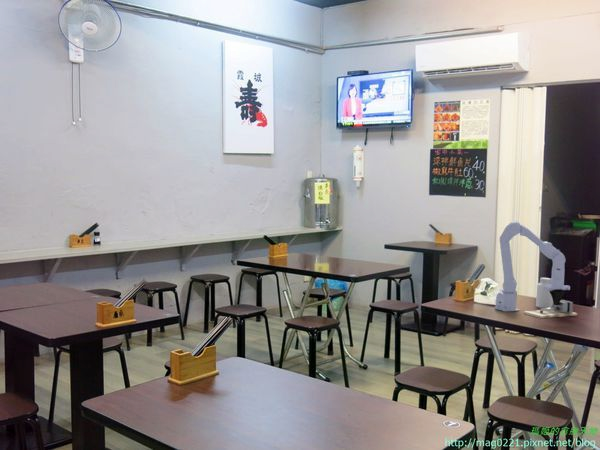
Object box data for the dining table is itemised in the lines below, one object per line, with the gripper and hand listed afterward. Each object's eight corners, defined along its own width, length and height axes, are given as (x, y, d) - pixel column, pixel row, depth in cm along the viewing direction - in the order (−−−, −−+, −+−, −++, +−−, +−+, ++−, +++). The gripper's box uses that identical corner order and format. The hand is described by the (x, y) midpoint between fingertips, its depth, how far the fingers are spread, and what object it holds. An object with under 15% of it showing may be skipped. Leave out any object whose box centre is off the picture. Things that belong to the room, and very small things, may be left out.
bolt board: (540, 318, 291) (540, 305, 290) (523, 313, 301) (524, 301, 300) (577, 315, 299) (577, 303, 299) (559, 310, 310) (560, 298, 309)
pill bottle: (555, 309, 314) (556, 279, 313) (539, 308, 314) (540, 279, 313) (549, 305, 322) (550, 277, 321) (533, 305, 322) (534, 276, 321)
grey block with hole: (562, 312, 299) (562, 302, 299) (553, 310, 305) (553, 300, 304) (567, 312, 300) (567, 302, 300) (557, 309, 306) (558, 300, 305)
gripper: (552, 279, 294) (551, 307, 295) (575, 278, 299) (574, 305, 300) (541, 276, 300) (540, 304, 301) (564, 275, 306) (562, 303, 307)
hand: (556, 305), depth 301 cm, fingers closed
